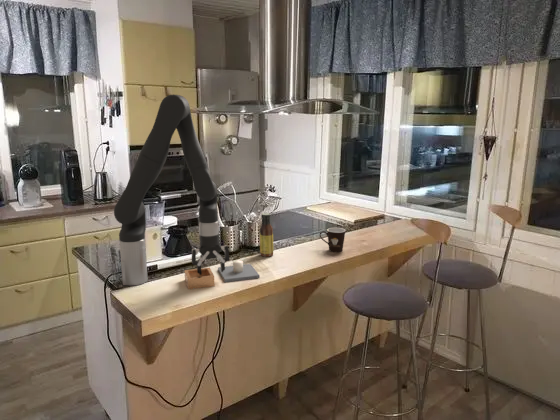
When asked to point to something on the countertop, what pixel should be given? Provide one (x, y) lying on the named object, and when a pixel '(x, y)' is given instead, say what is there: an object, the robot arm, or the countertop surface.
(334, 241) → the coffee mug
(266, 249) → the sauce bottle
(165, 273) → the countertop surface
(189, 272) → the brown wooden open box
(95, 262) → the countertop surface
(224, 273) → the post base
